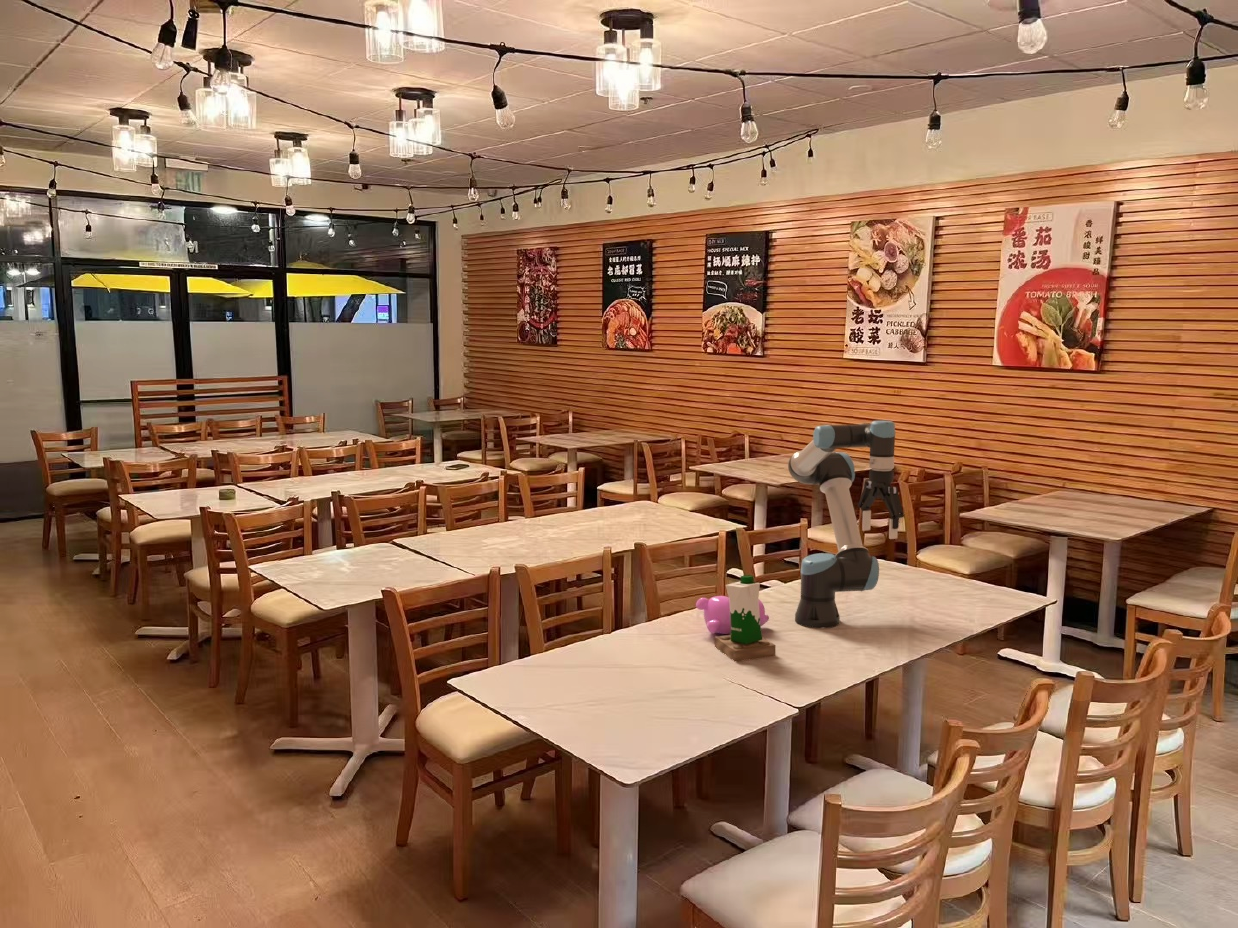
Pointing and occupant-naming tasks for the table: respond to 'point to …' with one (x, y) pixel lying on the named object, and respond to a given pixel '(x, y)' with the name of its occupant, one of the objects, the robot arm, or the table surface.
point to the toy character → (722, 614)
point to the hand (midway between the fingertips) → (879, 534)
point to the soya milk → (744, 610)
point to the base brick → (744, 648)
